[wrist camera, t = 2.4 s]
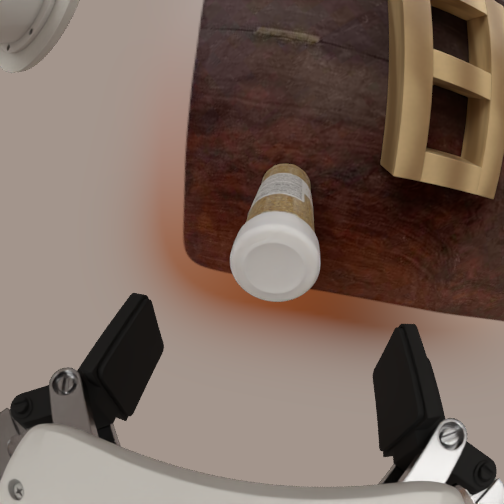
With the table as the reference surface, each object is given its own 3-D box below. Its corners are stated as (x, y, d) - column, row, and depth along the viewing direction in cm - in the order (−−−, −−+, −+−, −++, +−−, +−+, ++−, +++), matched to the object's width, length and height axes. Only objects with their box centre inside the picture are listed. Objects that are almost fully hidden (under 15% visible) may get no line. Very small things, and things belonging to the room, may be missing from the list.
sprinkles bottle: (304, 213, 26) (307, 312, 15) (257, 203, 26) (223, 295, 15) (315, 167, 24) (332, 238, 12) (265, 157, 24) (232, 217, 12)
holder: (379, 164, 22) (393, 176, 19) (384, -28, 12) (396, -44, 9) (473, 185, 21) (493, 199, 18) (482, 11, 11) (503, 6, 7)
